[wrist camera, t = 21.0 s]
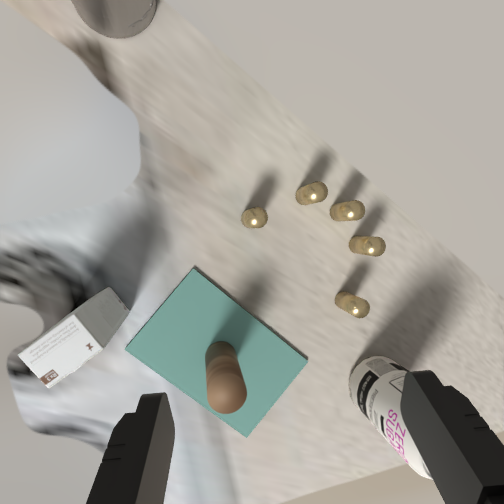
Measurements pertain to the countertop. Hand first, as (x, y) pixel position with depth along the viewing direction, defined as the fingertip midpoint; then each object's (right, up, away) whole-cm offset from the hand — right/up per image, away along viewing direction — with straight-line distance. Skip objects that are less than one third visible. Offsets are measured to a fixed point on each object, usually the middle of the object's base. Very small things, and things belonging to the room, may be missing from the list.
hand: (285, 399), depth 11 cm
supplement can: (+16, -14, +36) cm, 42 cm away
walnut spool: (-5, -9, +32) cm, 33 cm away
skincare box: (-20, -3, +30) cm, 36 cm away
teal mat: (-5, -8, +32) cm, 34 cm away
